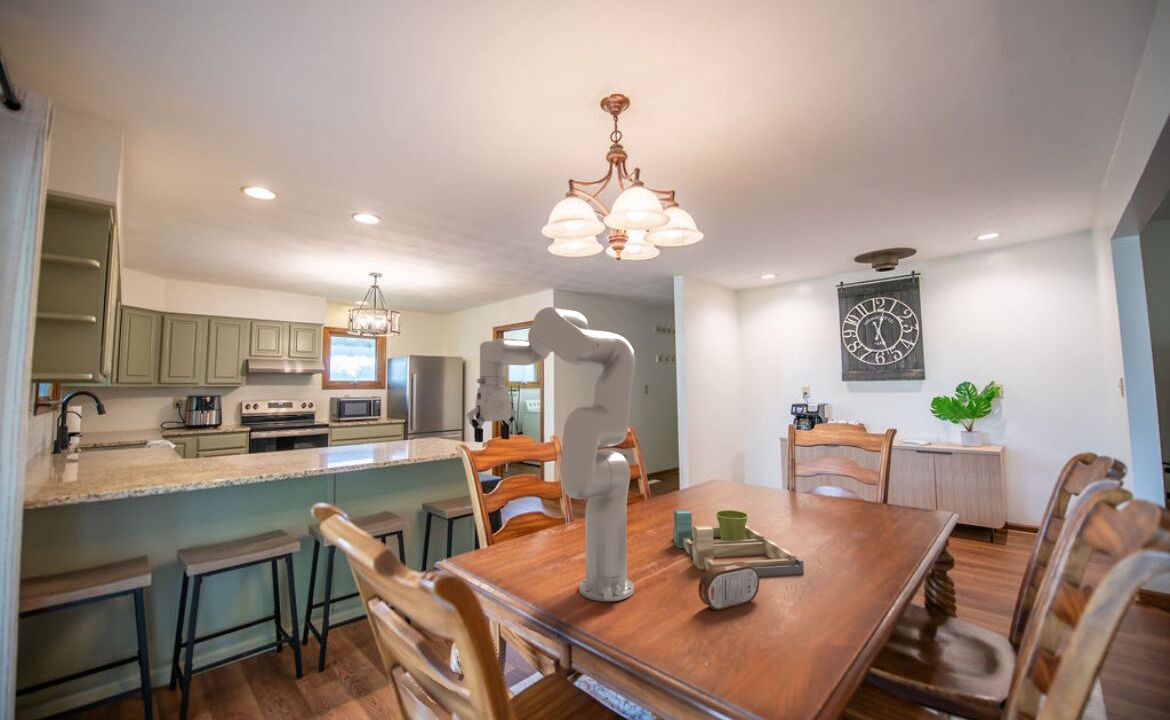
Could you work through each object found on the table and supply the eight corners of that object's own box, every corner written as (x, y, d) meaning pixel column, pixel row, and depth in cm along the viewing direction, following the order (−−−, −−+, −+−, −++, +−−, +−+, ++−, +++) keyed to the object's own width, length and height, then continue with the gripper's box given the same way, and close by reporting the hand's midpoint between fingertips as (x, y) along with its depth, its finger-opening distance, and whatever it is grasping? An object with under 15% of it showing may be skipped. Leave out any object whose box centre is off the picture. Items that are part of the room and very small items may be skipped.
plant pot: (742, 551, 135) (742, 520, 136) (711, 544, 141) (710, 514, 142) (753, 542, 143) (752, 513, 143) (723, 536, 149) (722, 508, 149)
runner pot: (764, 550, 136) (763, 514, 136) (684, 554, 133) (684, 518, 133) (741, 535, 150) (740, 502, 150) (669, 538, 147) (668, 505, 147)
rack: (804, 573, 119) (804, 561, 119) (714, 579, 116) (714, 566, 116) (744, 534, 151) (744, 524, 151) (673, 537, 148) (672, 527, 148)
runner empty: (796, 572, 120) (795, 531, 120) (706, 577, 117) (706, 535, 117) (767, 552, 134) (766, 516, 135) (686, 556, 131) (686, 519, 132)
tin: (752, 595, 107) (751, 557, 107) (762, 601, 104) (761, 561, 104) (697, 609, 100) (696, 568, 101) (707, 615, 97) (706, 573, 98)
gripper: (476, 382, 134) (475, 444, 133) (522, 382, 147) (522, 438, 146) (460, 382, 139) (460, 442, 138) (507, 383, 152) (507, 437, 151)
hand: (492, 440), depth 142 cm, fingers open, 9 cm apart
